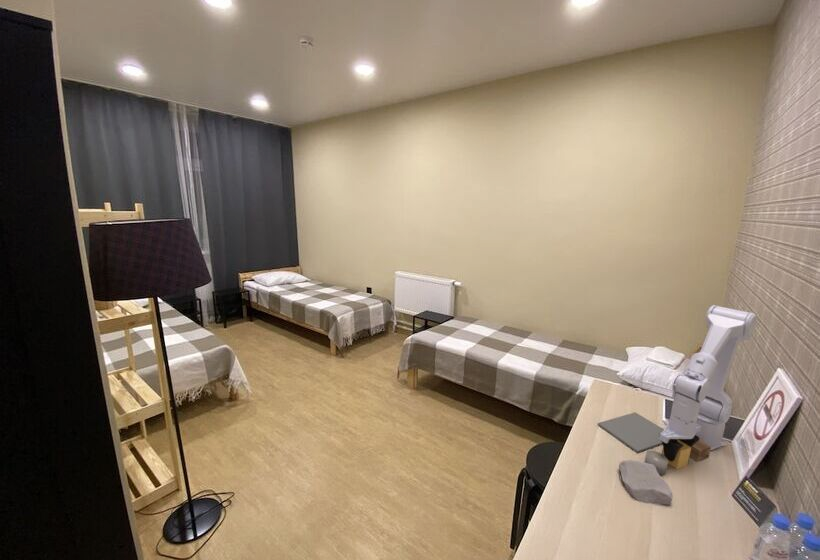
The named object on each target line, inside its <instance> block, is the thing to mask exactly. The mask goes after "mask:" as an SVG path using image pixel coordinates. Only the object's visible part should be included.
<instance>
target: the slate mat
mask: <svg viewBox="0 0 820 560" xmlns="http://www.w3.org/2000/svg"><path fill="white" fill-rule="evenodd" d="M597 426H598V427H599V428H601V429H602V430H603V431H605V432H606V433H608V434H609V435H610V436H612V437H614V438H615V439H617V440H618V441H620V443H622V444H623V445H624V446H626V447H628V448H629V449H630V450H631V451H633V452H634V453H636V454H640V453H643V452H645V451H649V450H651V449H653V448H657V447H659V446H663V444H662V442H661V440H660V439H659V433H661V432H663V431H664V429H665V428H662V427H660V426H659V425H658V424H656V423H654V422H652V421H651V420H649V419H647V418H646V417H644V416H643V415H641V414H640V413H637V412H632V413H628V414H624V415H621V416H618V417H617V416H616V417H615V418H611V419H607V420H603V421H600V422H597Z"/></svg>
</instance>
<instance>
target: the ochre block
mask: <svg viewBox="0 0 820 560" xmlns="http://www.w3.org/2000/svg"><path fill="white" fill-rule="evenodd" d="M677 440H678V439H677ZM677 442H679V443H681V444H682V445H684V446H683V447H681V448H680V450H679V451H678V453H677V455H676V458H675V460H674V461H673V462H671V461H670V460H668V464H667V465H670V466H672V467H673V468H674V469H675V470H678V469H679V470H680V469H681V468H684V467H686V466H688V463H689V458H690V457H689V455H690V451H691V447H690V446H688V445H686V444H685V443H683V442H681V441H680V440H678V441H677ZM661 454H663V455H664V449H663V448H662V450H661Z"/></svg>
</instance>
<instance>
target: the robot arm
mask: <svg viewBox="0 0 820 560" xmlns="http://www.w3.org/2000/svg"><path fill="white" fill-rule="evenodd" d="M757 320H758V319H757V315H756V314H755V313H754V312H748V311H743V310H739V309H733V308H729V307H724V306H720V305H717V304H713V305H711V306H709V308H708V310H707V311H706V315H705V322H706V328H707V329H708V331H707V334H706V337H705V339H704V342H703V343H702V345H701V346H702V347H701V348H700V351H699V352H695V353H693V354H692V355H691V357H690V359H689V360H688V362H687V364H686V366H685V368H684V370H683V371H682V374H677V375H676V376H675V378H674V380H673V383H672V387H671V388H672V398H673V401H672V405H671V410H670V411H671V412H670V416H669V420H665V421H664V425H665V428H663V429H664V431H663V432H661V433H659V439H660V440H661V442H662V444H663V445H662V449H664V456H665V457H666V458H667V459H668V460H670V461H671V462H673V461H674V460H675V458H676V455H677V453H678V451H679V450H680V448H681V447H683V446H684V445H682V444H681V443H679V442H677V441H678V440H680V441H681V442H683V443H685V444H686V445H688V446H690V447H692V446H693V445H694V444H695V443H696V442H698V441H699V440H700V441H702V442H704V443H705V444H707V445H709V446H711V450H710V452H711V451H712V450H715V449H718V448H721V447H723V446H725V442H723V441H722V440H723V436H724V433H725V429H726V423H727V422H728V420H729V419H730V417H731V415H732V411H733V404H734V403H733V399H732V398H731V397H730V395H728V394H727V392H725V387H726V383H727V381H728V377H729V374H730V371H731V368H732V366H733V363H734V360H735V357H736V353H737V351H738V347H739V345H740V344H741V342H742V341H750V340H751V338H752V337H753V334H754V331H755V327H756V325H757ZM677 439H678V440H677Z"/></svg>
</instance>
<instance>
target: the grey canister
mask: <svg viewBox="0 0 820 560" xmlns="http://www.w3.org/2000/svg"><path fill="white" fill-rule="evenodd" d="M643 462H644V463H648V464H653V465H654V466H655V467H656V470H657V472H658V473H659V475H660V477H662V476H665V475H666V472H667V467H668V465H669V464H668V459H667V458H666V457H665V456H664V455H663V454H662V452H661V453H660V452H659V451H655V450H646V454H645V457H644V461H643Z"/></svg>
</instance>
